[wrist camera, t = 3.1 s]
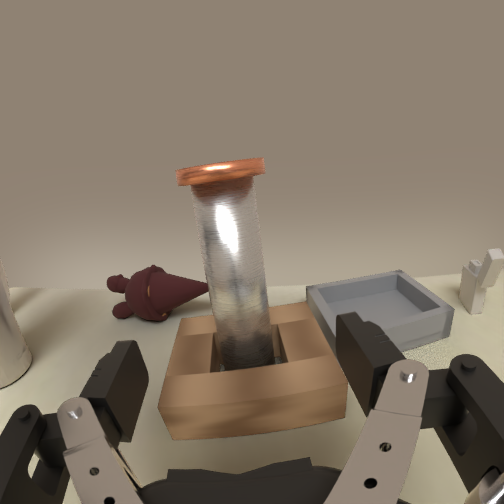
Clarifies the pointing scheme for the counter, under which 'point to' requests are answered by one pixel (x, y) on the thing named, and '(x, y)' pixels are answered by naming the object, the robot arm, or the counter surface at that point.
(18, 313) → the counter surface
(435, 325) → the tray
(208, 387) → the hitch block
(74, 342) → the counter surface
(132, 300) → the icecream
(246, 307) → the pin
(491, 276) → the lighter
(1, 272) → the soap bottle
